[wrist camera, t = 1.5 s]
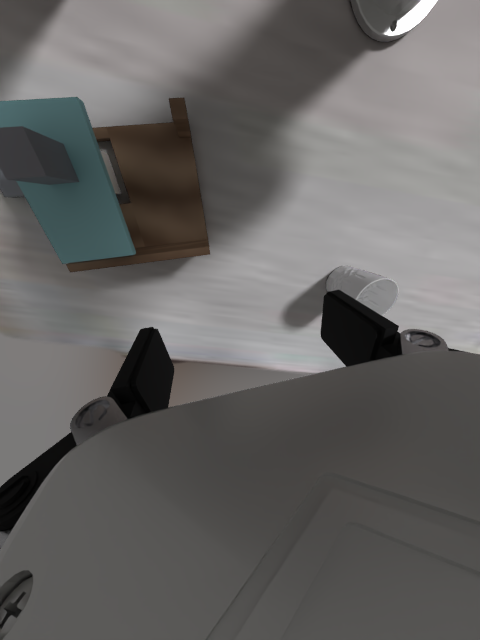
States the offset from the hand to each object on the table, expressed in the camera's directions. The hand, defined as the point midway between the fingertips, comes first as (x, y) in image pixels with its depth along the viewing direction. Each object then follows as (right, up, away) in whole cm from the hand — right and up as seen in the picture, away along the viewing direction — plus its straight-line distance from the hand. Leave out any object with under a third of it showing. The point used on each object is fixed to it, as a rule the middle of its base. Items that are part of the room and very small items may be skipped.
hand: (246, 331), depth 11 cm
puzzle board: (-14, +19, +18) cm, 30 cm away
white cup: (+21, +9, +31) cm, 38 cm away
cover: (-18, +14, +10) cm, 26 cm away
